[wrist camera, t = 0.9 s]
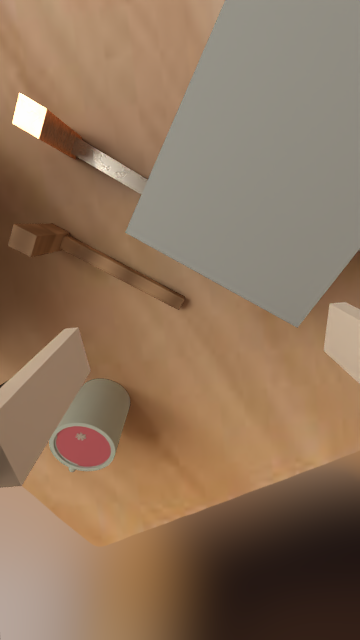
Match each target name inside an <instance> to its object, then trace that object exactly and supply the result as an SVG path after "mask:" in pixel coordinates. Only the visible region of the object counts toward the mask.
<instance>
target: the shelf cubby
mask: <svg viewBox="0 0 360 640" xmlns="http://www.w3.org/2000/svg"><path fill="white" fill-rule="evenodd" d="M125 233H127V234H129V235H130V236H132V237H134V238H136V239H138V240H139V241H141V242H143V243H145V244H147V245H149V246H150V247H152V248H154V249H156V250H158V251H159V252H161V253H163V254H165V255H167V256H168V257H170V258H172V259H174V260H176V261H177V262H179V263H181V264H183V265H185V266H187V267H188V268H190V269H192V270H194V271H196V272H197V273H199V274H201V275H203V276H205V277H206V278H208V279H210V280H212V281H214V282H215V283H217V284H219V285H221V286H223V287H225V288H226V289H228V290H230V291H232V292H234V293H235V294H237V295H239V296H241V297H243V298H244V299H246V300H248V301H250V302H252V303H253V304H255V305H257V306H259V307H261V308H263V309H264V310H266V311H268V312H270V313H272V314H273V315H275V316H277V317H279V318H281V319H282V320H284V321H286V322H288V323H290V324H291V325H293V326H295V327H297V328H298V326H299V325H300V324H301V322H302V321H303V320H304V319H305V317H306V316H307V315H308V314H309V312H310V311H311V310H312V309H313V307H314V306H315V305H316V303H317V302H318V301H319V300H320V298H321V297H322V296H323V295H324V293H325V292H326V291H327V290H328V288H329V287H330V286H331V284H332V283H333V282H334V281H335V279H336V278H337V277H338V276H339V274H340V273H341V272H342V271H343V269H344V268H345V267H346V266H347V264H348V263H349V262H350V260H351V259H352V258H353V257H354V255H355V254H356V253H357V252H358V250H359V249H360V0H225V2H224V5H223V7H222V9H221V11H220V14H219V16H218V18H217V21H216V23H215V25H214V28H213V30H212V32H211V35H210V37H209V39H208V42H207V44H206V46H205V49H204V51H203V53H202V56H201V58H200V60H199V63H198V65H197V67H196V69H195V72H194V74H193V76H192V79H191V81H190V83H189V86H188V88H187V90H186V93H185V95H184V97H183V100H182V102H181V104H180V107H179V109H178V111H177V114H176V116H175V118H174V120H173V123H172V125H171V127H170V130H169V132H168V134H167V137H166V139H165V141H164V144H163V146H162V148H161V151H160V153H159V155H158V158H157V160H156V162H155V165H154V167H153V169H152V172H151V174H150V176H149V178H148V181H147V183H146V185H145V188H144V190H143V192H142V195H141V197H140V199H139V202H138V204H137V206H136V209H135V211H134V213H133V216H132V218H131V220H130V223H129V225H128V227H127V230H126V232H125Z"/></svg>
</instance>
